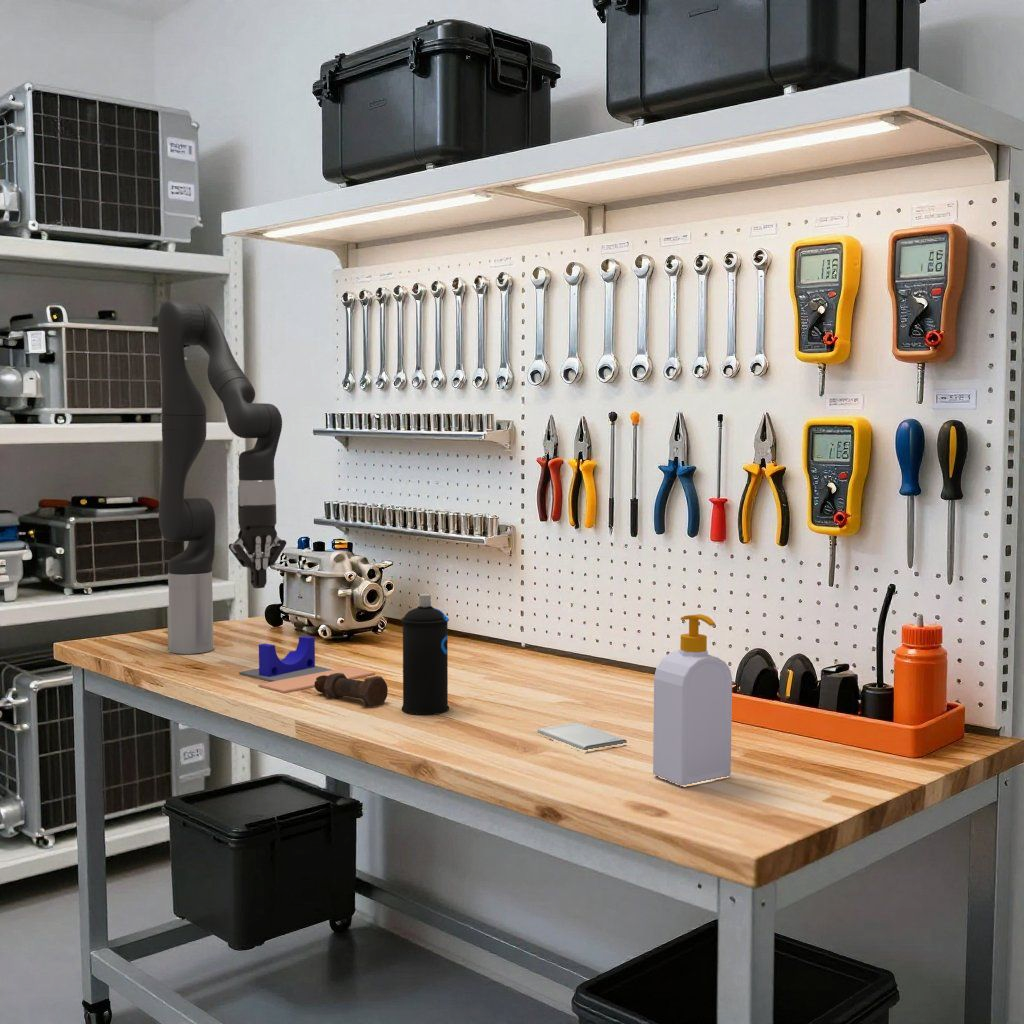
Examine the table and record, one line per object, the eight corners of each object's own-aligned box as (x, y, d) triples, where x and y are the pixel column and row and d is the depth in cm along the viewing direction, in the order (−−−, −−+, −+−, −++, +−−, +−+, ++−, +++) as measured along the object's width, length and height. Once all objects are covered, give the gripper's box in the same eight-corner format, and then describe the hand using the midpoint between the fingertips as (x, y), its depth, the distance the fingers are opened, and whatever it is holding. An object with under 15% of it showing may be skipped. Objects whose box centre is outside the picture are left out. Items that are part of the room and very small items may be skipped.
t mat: (221, 677, 224) (221, 675, 224) (312, 660, 240) (312, 658, 240) (284, 693, 211) (284, 690, 211) (375, 674, 227) (375, 672, 227)
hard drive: (627, 738, 176) (579, 720, 187) (584, 746, 172) (537, 727, 182) (626, 749, 176) (579, 731, 187) (583, 757, 172) (537, 737, 182)
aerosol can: (409, 717, 193) (408, 599, 192) (395, 706, 201) (395, 592, 199) (455, 712, 196) (455, 596, 195) (440, 702, 204) (440, 590, 202)
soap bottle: (685, 790, 154) (687, 621, 153) (652, 777, 160) (654, 614, 158) (735, 779, 159) (737, 615, 157) (701, 767, 165) (703, 608, 163)
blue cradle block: (299, 664, 235) (299, 635, 234) (314, 666, 232) (314, 637, 232) (253, 673, 225) (253, 643, 225) (269, 676, 222) (269, 646, 222)
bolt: (323, 703, 211) (381, 713, 202) (304, 693, 208) (362, 703, 198) (334, 673, 213) (392, 681, 204) (316, 663, 210) (373, 671, 200)
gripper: (273, 500, 239) (274, 583, 240) (218, 503, 229) (220, 589, 231) (295, 501, 234) (296, 586, 235) (240, 504, 224) (242, 592, 226)
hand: (258, 587), depth 233 cm, fingers closed
